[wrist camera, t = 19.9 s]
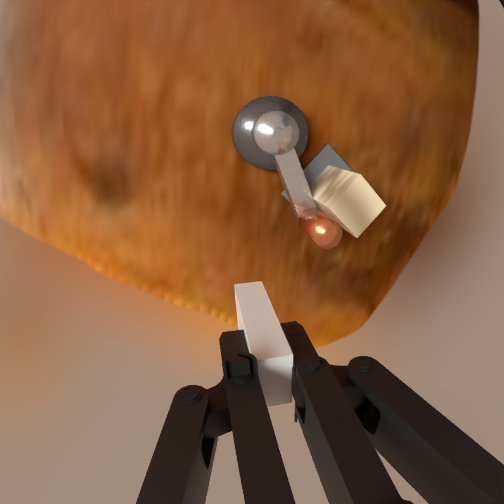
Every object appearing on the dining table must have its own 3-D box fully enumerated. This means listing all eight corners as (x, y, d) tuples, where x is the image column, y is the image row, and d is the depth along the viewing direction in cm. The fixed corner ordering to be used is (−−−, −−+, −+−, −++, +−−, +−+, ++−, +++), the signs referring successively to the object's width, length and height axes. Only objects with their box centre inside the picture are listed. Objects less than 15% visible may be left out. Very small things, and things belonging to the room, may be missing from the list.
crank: (244, 121, 35) (256, 117, 28) (283, 106, 35) (305, 99, 28) (290, 234, 41) (311, 257, 33) (325, 218, 41) (353, 237, 33)
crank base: (266, 83, 36) (270, 81, 34) (317, 133, 39) (322, 133, 37) (216, 135, 37) (217, 135, 36) (269, 183, 41) (273, 185, 39)
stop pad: (327, 143, 40) (328, 144, 40) (368, 190, 43) (369, 190, 43) (280, 193, 41) (281, 193, 41) (325, 237, 44) (326, 237, 44)
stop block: (328, 165, 41) (360, 174, 32) (352, 191, 42) (386, 205, 34) (302, 192, 41) (328, 208, 33) (327, 217, 43) (356, 238, 35)
